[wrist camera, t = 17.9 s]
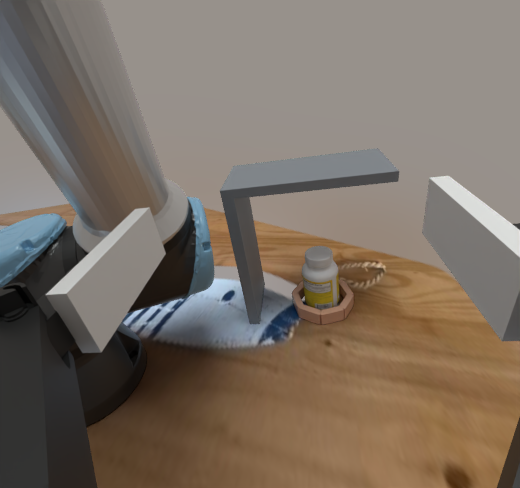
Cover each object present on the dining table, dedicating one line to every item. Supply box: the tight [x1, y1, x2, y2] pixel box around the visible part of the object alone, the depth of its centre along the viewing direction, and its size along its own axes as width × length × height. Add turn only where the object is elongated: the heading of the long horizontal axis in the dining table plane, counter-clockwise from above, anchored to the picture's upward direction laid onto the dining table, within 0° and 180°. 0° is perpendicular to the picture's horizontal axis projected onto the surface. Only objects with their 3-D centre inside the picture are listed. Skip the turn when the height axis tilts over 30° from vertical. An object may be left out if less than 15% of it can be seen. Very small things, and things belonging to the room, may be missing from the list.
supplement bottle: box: [302, 246, 339, 310], centre depth 47 cm, size 5×5×10 cm
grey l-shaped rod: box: [220, 148, 399, 324], centre depth 45 cm, size 10×20×22 cm, turn 84°
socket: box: [292, 279, 354, 325], centre depth 49 cm, size 9×9×2 cm
